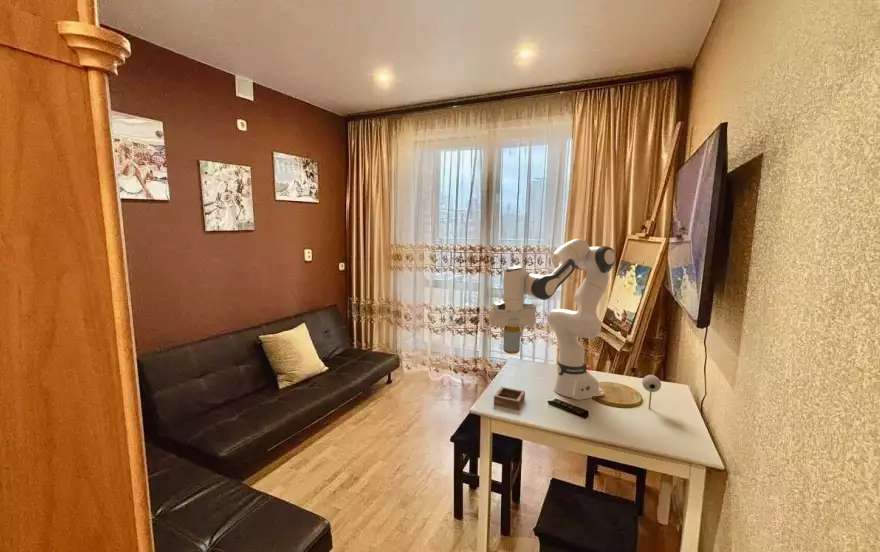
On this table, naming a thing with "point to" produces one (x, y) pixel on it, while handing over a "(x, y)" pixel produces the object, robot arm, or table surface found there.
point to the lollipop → (651, 385)
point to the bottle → (512, 337)
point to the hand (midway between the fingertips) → (511, 335)
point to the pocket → (509, 402)
